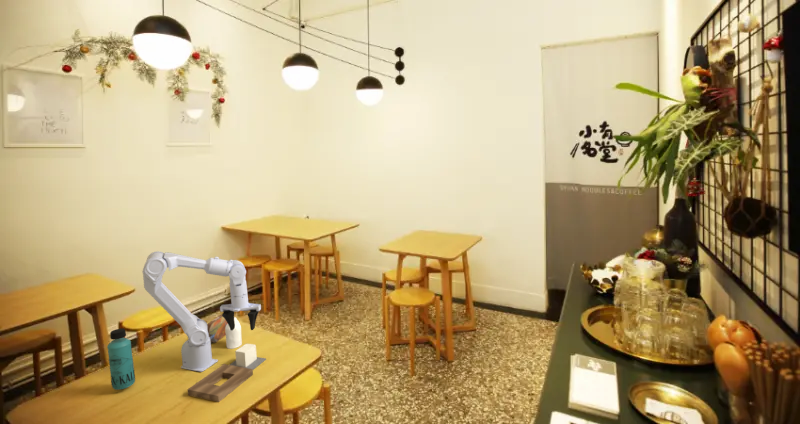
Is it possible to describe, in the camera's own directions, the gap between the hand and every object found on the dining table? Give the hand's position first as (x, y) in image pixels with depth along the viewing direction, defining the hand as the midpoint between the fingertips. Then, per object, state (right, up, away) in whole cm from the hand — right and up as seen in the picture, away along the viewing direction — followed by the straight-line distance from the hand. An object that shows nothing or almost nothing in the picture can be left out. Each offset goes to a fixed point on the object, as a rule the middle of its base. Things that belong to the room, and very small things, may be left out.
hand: (242, 329), depth 152 cm
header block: (0, -13, -17) cm, 22 cm away
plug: (+3, -11, -4) cm, 12 cm away
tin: (-16, -9, +17) cm, 25 cm away
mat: (+3, -11, -4) cm, 12 cm away
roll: (-7, -9, +10) cm, 15 cm away
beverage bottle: (-31, -14, -19) cm, 39 cm away
